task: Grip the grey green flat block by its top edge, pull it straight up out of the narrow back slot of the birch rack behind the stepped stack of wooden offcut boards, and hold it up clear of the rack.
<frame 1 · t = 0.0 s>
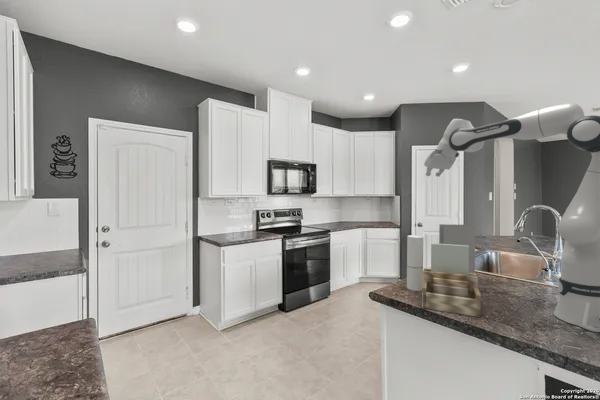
hand: (432, 175, 145), 54 cm above the worktop, tool tilted 30°, fingers open, 8 cm apart
grey green flat block: (448, 300, 119), resting in rack
offcut boards: (449, 306, 113), resting in rack
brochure: (456, 287, 136), on the worktop
rack: (449, 304, 116), on the worktop
cylindrical container: (414, 288, 134), on the worktop
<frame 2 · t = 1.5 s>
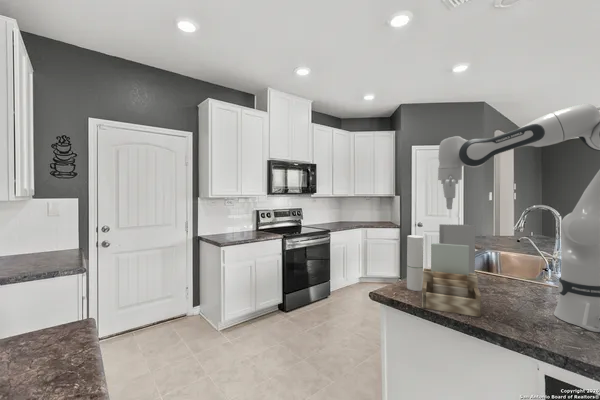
hand: (449, 208, 119), 39 cm above the worktop, tool pointing down, fingers open, 8 cm apart
nothing on the worktop moved.
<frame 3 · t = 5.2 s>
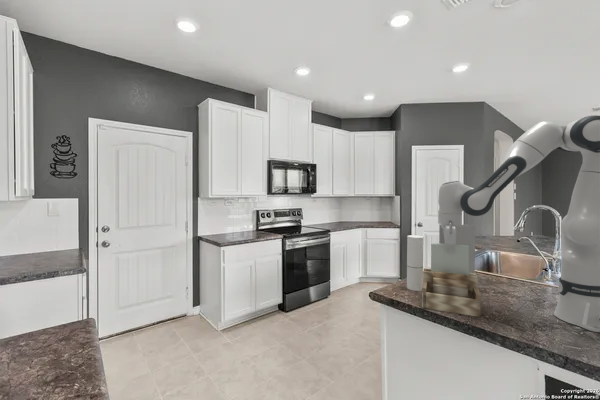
hand: (449, 252, 119), 21 cm above the worktop, tool pointing down, fingers closed on grey green flat block, 2 cm apart
grey green flat block: (448, 300, 119), resting in rack, touching gripper
everything else where it was.
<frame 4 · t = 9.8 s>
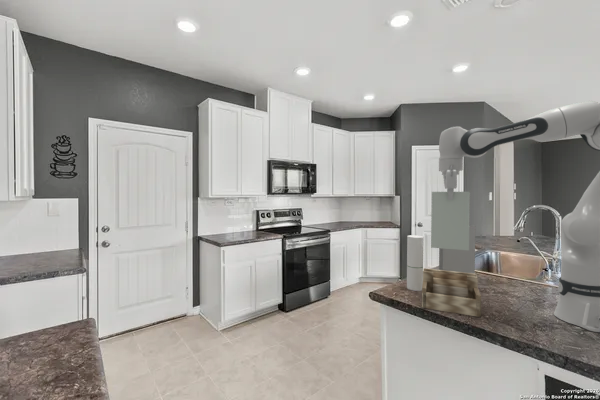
hand: (450, 199, 118), 43 cm above the worktop, tool pointing down, fingers closed on grey green flat block
grey green flat block: (449, 248, 118), point 22 cm above the worktop, touching gripper
everything else where it was.
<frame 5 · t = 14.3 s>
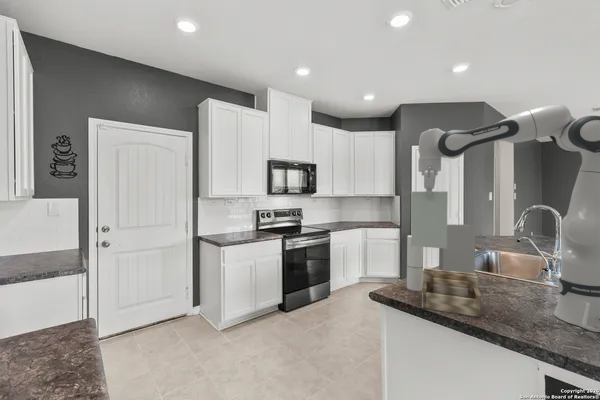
hand: (429, 199, 121), 43 cm above the worktop, tool pointing down, fingers closed on grey green flat block
grey green flat block: (428, 246, 122), point 22 cm above the worktop, touching gripper
everything else where it was.
at the end: grey green flat block inside the target area (0.1 cm from its centre), point 22.4 cm above the worktop; the gripper is holding grey green flat block; grey green flat block touching gripper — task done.
